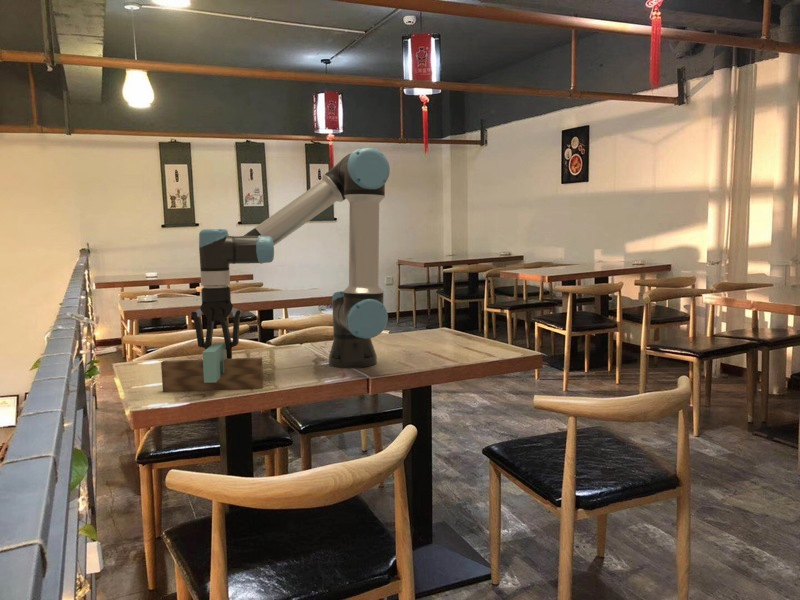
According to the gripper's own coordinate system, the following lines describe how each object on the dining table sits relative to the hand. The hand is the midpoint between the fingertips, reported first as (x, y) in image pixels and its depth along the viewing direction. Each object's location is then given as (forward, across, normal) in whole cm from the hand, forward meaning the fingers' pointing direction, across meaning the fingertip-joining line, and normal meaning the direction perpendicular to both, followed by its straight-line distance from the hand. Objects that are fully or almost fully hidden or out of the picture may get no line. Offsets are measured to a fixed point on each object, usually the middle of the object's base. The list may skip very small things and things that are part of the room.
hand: (219, 371), depth 170 cm
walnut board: (+4, +1, +4) cm, 6 cm away
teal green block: (0, 0, +4) cm, 4 cm away
